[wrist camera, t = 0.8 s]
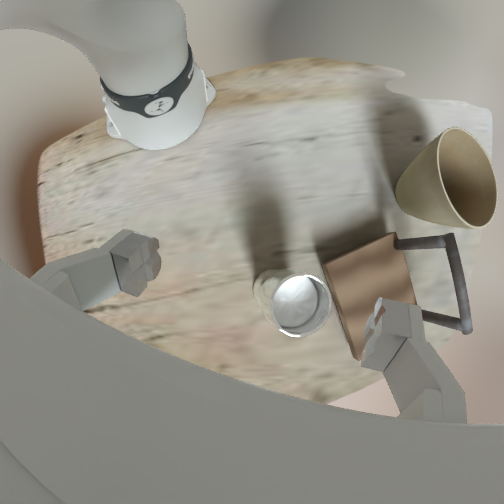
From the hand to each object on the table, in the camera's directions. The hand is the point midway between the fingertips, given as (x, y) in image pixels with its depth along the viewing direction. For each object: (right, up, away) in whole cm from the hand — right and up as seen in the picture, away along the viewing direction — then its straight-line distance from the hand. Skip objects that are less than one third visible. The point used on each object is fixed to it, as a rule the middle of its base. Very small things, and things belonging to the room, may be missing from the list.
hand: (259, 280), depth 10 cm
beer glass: (+3, -5, +34) cm, 34 cm away
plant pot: (+29, +11, +37) cm, 48 cm away
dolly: (+18, -6, +35) cm, 40 cm away
